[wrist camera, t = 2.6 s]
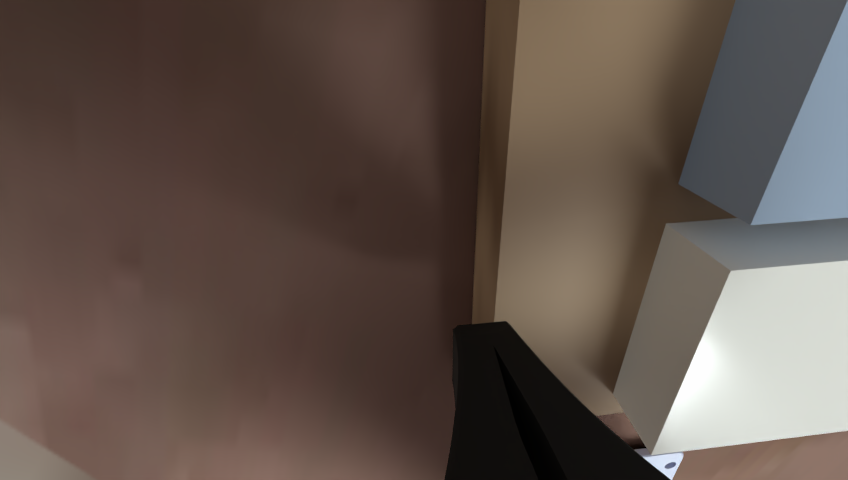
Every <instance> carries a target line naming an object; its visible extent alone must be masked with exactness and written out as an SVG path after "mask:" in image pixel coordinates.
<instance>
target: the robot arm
mask: <svg viewBox="0 0 848 480" xmlns="http://www.w3.org/2000/svg"><path fill="white" fill-rule="evenodd" d="M452 381H453V387H454V396H455V407H456V410H455V418H454V426H453V434H452V441H451V447H450V453H449V459H448V465H447V470H446V475H445V480H672V478H673V476H674V474H675V472H676V470H677V468H678V466H679V464H680V462H681V460H682V458H683V455H684V454H683V453H682V451H681V452H673V453H665V454H657V455H651V454H650V453H649V451H648V449H647V448H642V449H632V448H631V447H630V446H629V445H628V444H626V443H625V442H624V441H623V440H622V439H621V438H619V437H618V436H617V435H616V434H615V433H614V432H613V431H612V430H610V429H609V428H608V427H607V426H606V425H605V424H604V423H603V422H602V421H601V420H600V419H598V418H597V417H596V416H595V415H594V414H593V413H592V412H591V411H590V410H589V409H588V408H587V407H586V406H585V405H584V404H583V403H582V402H581V401H580V400H579V399H578V398H577V397H576V396H575V395H574V394H573V393H572V392H571V391H570V390H569V389H568V388H567V387H566V386H565V385H564V384H563V383H562V382H561V381H560V380H559V379H558V378H557V377H556V376H555V375H554V374H553V373H552V372H551V371H550V370H549V368H548V367H547V366H546V365H545V364H544V363H543V362H542V361H541V360H540V359H539V358H538V356H537V355H536V354H535V353H534V352H533V351H532V350H531V348H530V347H529V346H528V345H527V344H526V343H525V342H524V340H523V339H522V338H521V337H520V336H519V335H518V333H517V332H516V331H515V330H514V329H513V327H512V326H511V325H510V324H509V323H508V322H507V321H500V322H490V323H479V324H469V325H458V326H457V327H455V328H454V329H453V378H452Z"/></svg>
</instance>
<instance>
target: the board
mask: <svg viewBox="0 0 848 480" xmlns="http://www.w3.org/2000/svg"><path fill="white" fill-rule="evenodd" d="M734 4H735V0H486V17H485V39H484V62H483V85H482V107H481V130H480V153H479V175H478V198H477V221H476V243H475V266H474V288H473V311H472V324H479V323H490V322H500V321H507V322H508V323H509V324H510V325H511V326H512V327H513V329H514V330H515V331H516V332H517V333H518V335H519V336H520V337H521V338H522V339H523V340H524V342H525V343H526V344H527V345H528V346H529V347H530V348H531V350H532V351H533V352H534V353H535V354H536V355H537V356H538V358H539V359H540V360H541V361H542V362H543V363H544V364H545V365H546V366H547V367H548V368H549V370H550V371H551V372H552V373H553V374H554V375H555V376H556V377H557V378H558V379H559V380H560V381H561V382H562V383H563V384H564V385H565V386H566V387H567V388H568V389H569V390H570V391H571V392H572V393H573V394H574V395H575V396H576V397H577V398H578V399H579V400H580V401H581V402H582V403H583V404H584V405H585V406H586V407H587V408H588V409H589V410H590V411H591V412H592V413H593V414H594V415H595V416H599V415H607V414H616V413H625V412H624V411H623V409H622V408H621V406H620V404H619V403H618V401H617V400H616V398H615V396H614V395H613V392H614V389H615V386H616V382H617V379H618V376H619V373H620V370H621V366H622V363H623V360H624V357H625V353H626V350H627V347H628V344H629V341H630V337H631V334H632V331H633V328H634V325H635V321H636V318H637V315H638V312H639V309H640V305H641V302H642V299H643V296H644V292H645V289H646V286H647V283H648V280H649V276H650V273H651V270H652V267H653V264H654V260H655V257H656V254H657V251H658V248H659V244H660V241H661V238H662V235H663V232H664V228H665V225H666V223H679V222H692V221H705V220H718V219H731V218H737V217H735V216H733V215H732V214H730V213H728V212H726V211H725V210H723V209H721V208H719V207H718V206H716V205H714V204H712V203H711V202H709V201H707V200H705V199H704V198H702V197H700V196H698V195H697V194H695V193H693V192H691V191H690V190H688V189H686V188H684V187H683V186H681V185H679V184H678V183H679V180H680V177H681V174H682V171H683V167H684V164H685V161H686V158H687V154H688V151H689V148H690V145H691V142H692V138H693V135H694V132H695V129H696V126H697V122H698V119H699V116H700V113H701V110H702V106H703V103H704V100H705V97H706V94H707V90H708V87H709V84H710V81H711V77H712V74H713V71H714V68H715V65H716V61H717V58H718V55H719V52H720V49H721V45H722V42H723V39H724V36H725V33H726V29H727V26H728V23H729V20H730V16H731V13H732V10H733V7H734Z"/></svg>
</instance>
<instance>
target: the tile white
mask: <svg viewBox="0 0 848 480" xmlns="http://www.w3.org/2000/svg"><path fill="white" fill-rule="evenodd" d="M613 395H614V396H615V398H616V400H617V401H618V403H619V404H620V406H621V408H622V409H623V411H624V412H625V414H626V416H627V417H628V419H629V420H630V422H631V424H632V425H633V427H634V429H635V430H636V432H637V433H638V435H639V437H640V438H641V440H642V441H643V443H644V445H645V446H646V448H647V449H648V451H649V453H650V454H651V455H657V454H665V453H673V452H681V451H689V450H697V449H705V448H713V447H721V446H729V445H737V444H745V443H753V442H761V441H769V440H777V439H785V438H793V437H801V436H809V435H817V434H825V433H832V432H840V431H848V218H836V219H824V220H811V221H798V222H786V223H773V224H760V225H749V224H747V223H746V222H744V221H742V220H740V219H739V218H731V219H718V220H705V221H692V222H679V223H666V225H665V228H664V232H663V235H662V238H661V241H660V244H659V248H658V251H657V254H656V257H655V260H654V264H653V267H652V270H651V273H650V276H649V280H648V283H647V286H646V289H645V292H644V296H643V299H642V302H641V305H640V309H639V312H638V315H637V318H636V321H635V325H634V328H633V331H632V334H631V337H630V341H629V344H628V347H627V350H626V353H625V357H624V360H623V363H622V366H621V370H620V373H619V376H618V379H617V382H616V386H615V389H614V392H613Z"/></svg>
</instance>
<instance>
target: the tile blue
mask: <svg viewBox="0 0 848 480" xmlns="http://www.w3.org/2000/svg"><path fill="white" fill-rule="evenodd" d="M678 184H679V185H681V186H683V187H684V188H686V189H688V190H690V191H691V192H693V193H695V194H697V195H698V196H700V197H702V198H704V199H705V200H707V201H709V202H711V203H712V204H714V205H716V206H718V207H719V208H721V209H723V210H725V211H726V212H728V213H730V214H732V215H733V216H735V217H737V218H739V219H740V220H742V221H744V222H746V223H747V224H749V225H760V224H773V223H786V222H798V221H811V220H824V219H836V218H848V0H735V4H734V7H733V10H732V13H731V16H730V20H729V23H728V26H727V29H726V33H725V36H724V39H723V42H722V45H721V49H720V52H719V55H718V58H717V61H716V65H715V68H714V71H713V74H712V77H711V81H710V84H709V87H708V90H707V94H706V97H705V100H704V103H703V106H702V110H701V113H700V116H699V119H698V122H697V126H696V129H695V132H694V135H693V138H692V142H691V145H690V148H689V151H688V154H687V158H686V161H685V164H684V167H683V171H682V174H681V177H680V180H679V183H678Z"/></svg>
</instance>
